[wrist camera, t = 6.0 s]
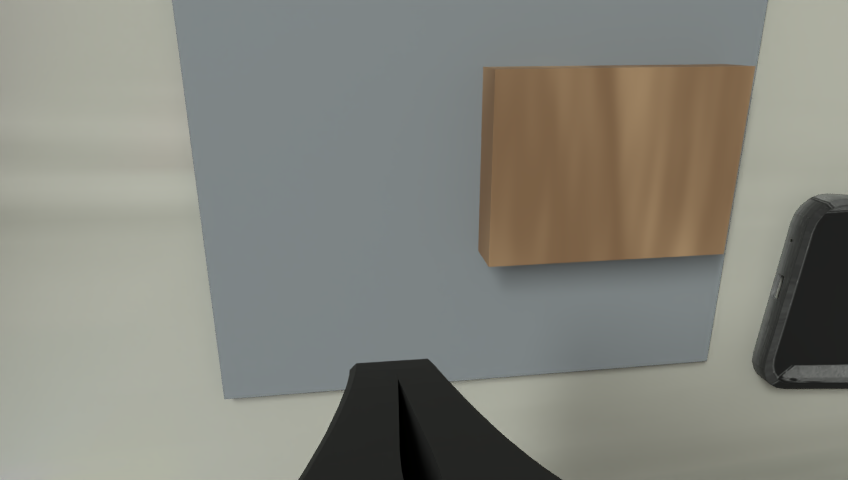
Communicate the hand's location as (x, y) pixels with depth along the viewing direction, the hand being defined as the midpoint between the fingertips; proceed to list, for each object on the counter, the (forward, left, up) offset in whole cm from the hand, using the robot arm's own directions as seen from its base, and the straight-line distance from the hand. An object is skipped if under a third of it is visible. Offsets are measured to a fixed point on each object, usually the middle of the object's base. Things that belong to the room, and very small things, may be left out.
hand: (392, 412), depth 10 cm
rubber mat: (+4, +2, -10) cm, 11 cm away
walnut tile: (+4, +2, -9) cm, 10 cm away
